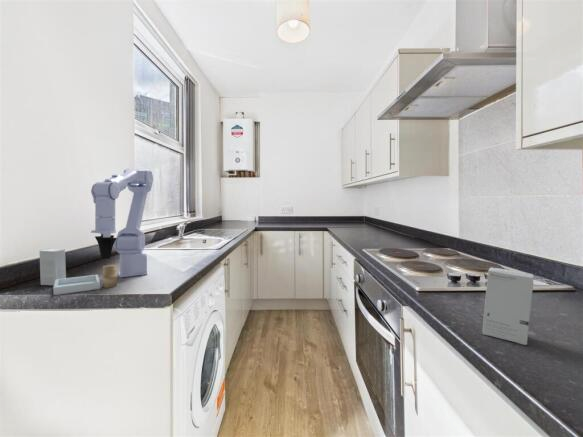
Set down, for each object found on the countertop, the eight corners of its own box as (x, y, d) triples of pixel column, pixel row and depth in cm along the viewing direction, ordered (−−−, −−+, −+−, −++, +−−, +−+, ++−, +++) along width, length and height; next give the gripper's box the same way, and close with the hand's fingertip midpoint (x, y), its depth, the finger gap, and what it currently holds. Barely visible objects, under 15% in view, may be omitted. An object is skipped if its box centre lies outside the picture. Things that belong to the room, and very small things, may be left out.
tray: (98, 280, 106) (97, 274, 106) (100, 288, 96) (99, 282, 96) (55, 285, 98) (55, 279, 98) (53, 295, 89) (53, 287, 89)
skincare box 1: (66, 282, 103) (65, 249, 102) (55, 285, 99) (54, 251, 98) (51, 281, 104) (50, 248, 103) (39, 285, 99) (38, 250, 99)
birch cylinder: (116, 283, 102) (115, 264, 102) (117, 286, 99) (117, 266, 99) (102, 285, 100) (102, 265, 99) (103, 288, 97) (103, 267, 96)
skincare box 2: (482, 334, 66) (485, 270, 65) (485, 326, 70) (488, 266, 69) (529, 346, 60) (533, 276, 59) (530, 336, 65) (533, 271, 64)
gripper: (90, 217, 101) (90, 255, 101) (91, 217, 90) (91, 261, 90) (114, 217, 105) (113, 254, 106) (118, 217, 94) (117, 259, 94)
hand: (105, 257), depth 98 cm, fingers open, 7 cm apart
